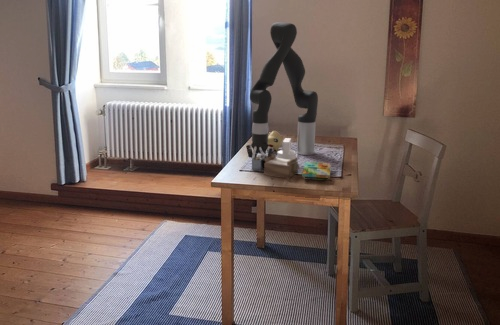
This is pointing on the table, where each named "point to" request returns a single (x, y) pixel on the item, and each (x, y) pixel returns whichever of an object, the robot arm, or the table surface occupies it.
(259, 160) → the block
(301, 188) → the table surface
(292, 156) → the cylinder with rectangular tab
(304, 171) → the puzzle game
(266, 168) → the stand
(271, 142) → the tan toy hamster
